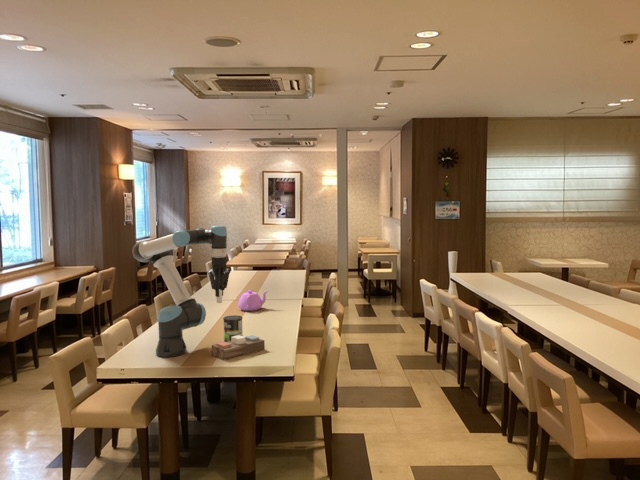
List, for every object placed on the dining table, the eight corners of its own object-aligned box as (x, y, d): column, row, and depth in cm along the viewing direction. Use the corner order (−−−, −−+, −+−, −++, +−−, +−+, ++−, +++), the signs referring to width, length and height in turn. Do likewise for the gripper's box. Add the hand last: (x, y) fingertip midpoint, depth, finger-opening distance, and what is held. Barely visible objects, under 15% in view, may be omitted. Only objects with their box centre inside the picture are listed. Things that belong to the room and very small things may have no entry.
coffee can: (231, 346, 268) (230, 320, 267) (220, 342, 275) (219, 317, 274) (246, 342, 275) (246, 317, 274) (235, 339, 282) (235, 314, 281)
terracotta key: (217, 349, 252) (216, 343, 252) (224, 347, 255) (224, 341, 255) (223, 351, 247) (223, 345, 247) (231, 349, 250) (231, 344, 250)
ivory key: (231, 342, 257) (231, 336, 257) (238, 340, 260) (238, 335, 260) (237, 344, 253) (237, 339, 253) (245, 343, 256) (245, 337, 256)
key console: (212, 354, 253) (211, 345, 253) (251, 345, 270) (251, 336, 269) (224, 360, 245) (224, 350, 244) (264, 349, 261) (264, 340, 260)
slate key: (245, 342, 263) (245, 336, 263) (252, 340, 266) (252, 335, 266) (251, 344, 259) (251, 339, 259) (259, 343, 262) (258, 337, 262)
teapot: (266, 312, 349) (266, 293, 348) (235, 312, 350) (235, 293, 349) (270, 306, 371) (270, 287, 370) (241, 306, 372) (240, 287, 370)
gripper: (212, 258, 245) (212, 305, 247) (234, 256, 254) (234, 302, 257) (203, 256, 250) (204, 303, 252) (225, 254, 260) (225, 299, 262)
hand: (219, 302), depth 255 cm, fingers closed
